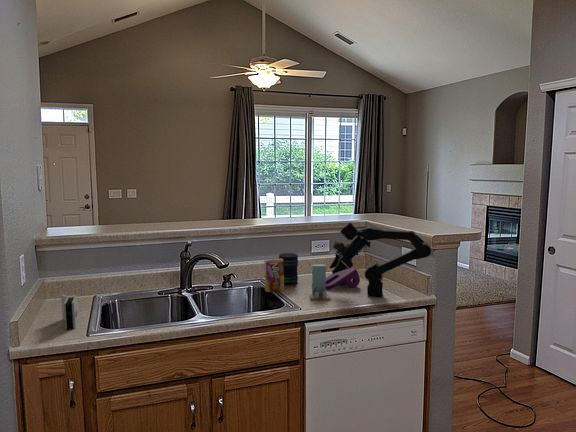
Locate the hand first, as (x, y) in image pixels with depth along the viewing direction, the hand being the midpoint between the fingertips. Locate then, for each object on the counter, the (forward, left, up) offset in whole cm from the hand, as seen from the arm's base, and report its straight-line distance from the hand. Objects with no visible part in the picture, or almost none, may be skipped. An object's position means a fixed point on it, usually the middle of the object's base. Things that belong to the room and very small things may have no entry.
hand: (331, 270), depth 208 cm
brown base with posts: (+3, +8, -11) cm, 15 cm away
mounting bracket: (-2, -13, -12) cm, 18 cm away
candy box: (+27, +2, -12) cm, 30 cm away
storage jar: (+24, -12, -12) cm, 29 cm away
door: (+5, +2, -11) cm, 13 cm away
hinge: (+89, +67, -12) cm, 112 cm away
